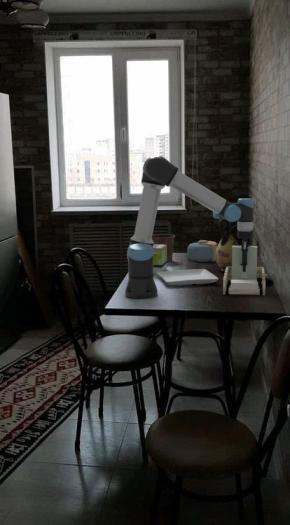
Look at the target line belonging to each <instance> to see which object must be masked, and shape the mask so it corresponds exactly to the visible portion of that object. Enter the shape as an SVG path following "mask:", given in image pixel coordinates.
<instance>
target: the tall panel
mask: <svg viewBox="0 0 290 525" xmlns="http://www.w3.org/2000/svg"><path fill="white" fill-rule="evenodd" d="M241 249H242V247H241V245H239V246H232V280H257V267H258V245H249V246H248V247H247V249H248V251H247V278H241V268H242V265H240V264H242V251H241Z"/></svg>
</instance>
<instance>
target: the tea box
mask: <svg viewBox="0 0 290 525" xmlns="http://www.w3.org/2000/svg"><path fill="white" fill-rule="evenodd" d="M153 252H154V254H153V272H154V274H157V273H156V272H162V271H167V269H168V262H167V245H156V244H154V245H153Z"/></svg>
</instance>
